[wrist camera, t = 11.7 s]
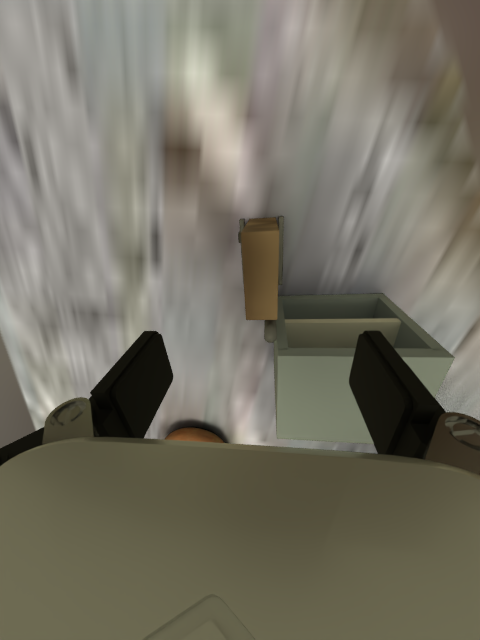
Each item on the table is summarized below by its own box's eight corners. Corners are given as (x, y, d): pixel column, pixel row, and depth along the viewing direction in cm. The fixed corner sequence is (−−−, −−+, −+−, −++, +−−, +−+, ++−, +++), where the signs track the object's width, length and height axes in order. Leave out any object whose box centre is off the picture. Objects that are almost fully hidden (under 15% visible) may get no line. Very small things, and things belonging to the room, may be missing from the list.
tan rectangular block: (275, 217, 26) (279, 230, 17) (274, 282, 30) (277, 319, 21) (242, 219, 27) (231, 233, 18) (246, 283, 31) (237, 319, 22)
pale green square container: (364, 364, 35) (409, 446, 24) (249, 362, 37) (242, 436, 26) (405, 207, 24) (523, 222, 13) (240, 219, 27) (220, 240, 15)
